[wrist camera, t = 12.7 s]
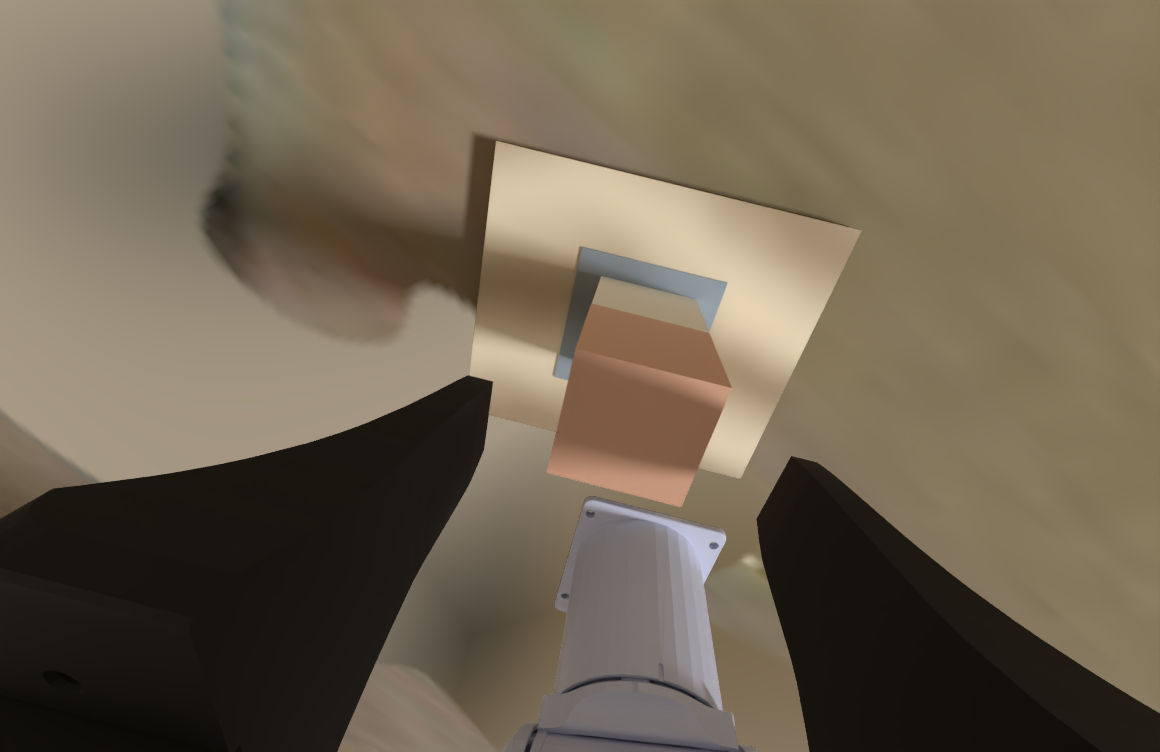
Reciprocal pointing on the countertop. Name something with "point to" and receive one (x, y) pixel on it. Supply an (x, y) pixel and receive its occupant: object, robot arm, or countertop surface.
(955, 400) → the countertop surface
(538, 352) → the base board
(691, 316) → the block base
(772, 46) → the countertop surface
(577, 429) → the block top
